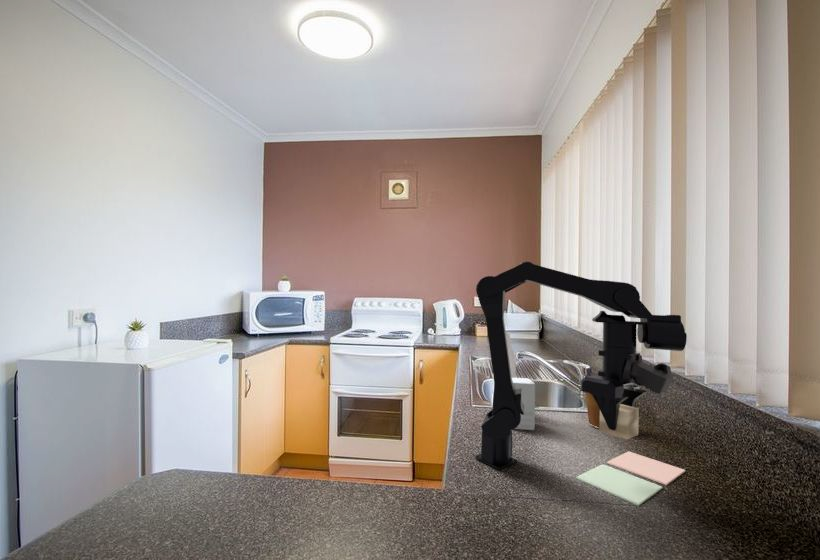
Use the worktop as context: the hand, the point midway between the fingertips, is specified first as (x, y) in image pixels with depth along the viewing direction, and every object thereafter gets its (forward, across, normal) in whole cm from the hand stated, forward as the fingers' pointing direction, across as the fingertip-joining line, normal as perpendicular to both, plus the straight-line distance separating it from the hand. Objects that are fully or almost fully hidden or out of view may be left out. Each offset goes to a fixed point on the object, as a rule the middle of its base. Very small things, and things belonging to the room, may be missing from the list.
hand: (618, 427), depth 69 cm
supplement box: (+11, +11, +31) cm, 35 cm away
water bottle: (+11, +17, +41) cm, 46 cm away
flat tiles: (+10, +6, 0) cm, 12 cm away
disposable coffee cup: (+11, +32, +18) cm, 38 cm away
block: (+1, 0, 0) cm, 1 cm away
